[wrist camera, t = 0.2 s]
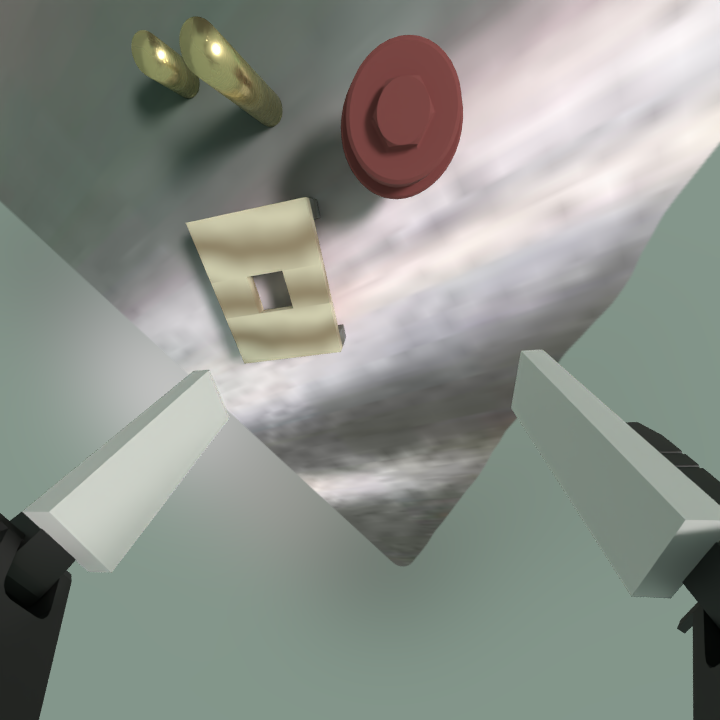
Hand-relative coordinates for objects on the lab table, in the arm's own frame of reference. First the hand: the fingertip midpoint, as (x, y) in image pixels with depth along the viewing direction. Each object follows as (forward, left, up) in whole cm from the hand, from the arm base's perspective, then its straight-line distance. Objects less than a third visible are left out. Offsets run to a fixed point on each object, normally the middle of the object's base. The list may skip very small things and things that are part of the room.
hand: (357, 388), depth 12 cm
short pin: (-22, -17, -28) cm, 39 cm away
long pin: (-18, -9, -28) cm, 34 cm away
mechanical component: (-12, +4, -28) cm, 31 cm away
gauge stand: (0, -13, -28) cm, 30 cm away
